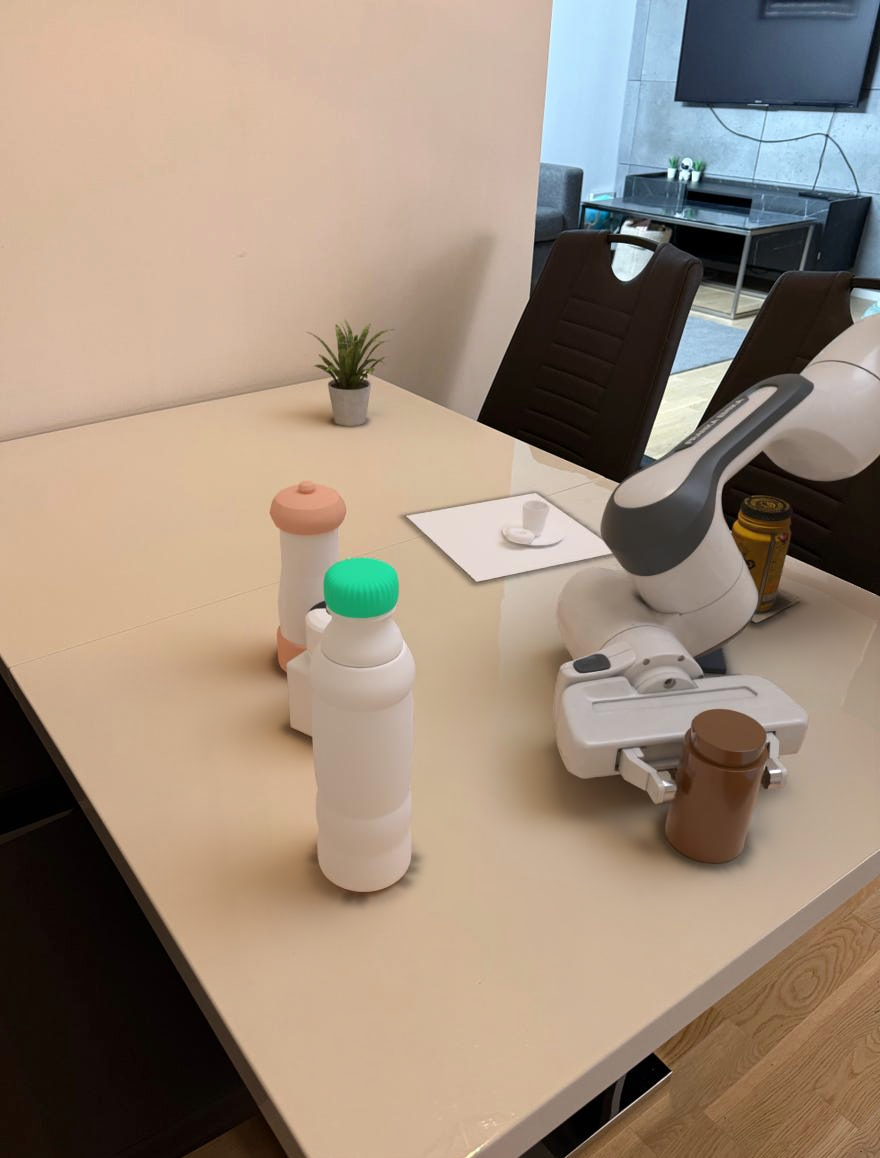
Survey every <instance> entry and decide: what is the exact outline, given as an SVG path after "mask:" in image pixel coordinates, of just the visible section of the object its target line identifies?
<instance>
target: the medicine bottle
mask: <svg viewBox="0 0 880 1158" xmlns="http://www.w3.org/2000/svg"><path fill="white" fill-rule="evenodd" d="M331 619H332V615H330V613H329V612H328V611H327V608H326V603H325V601H322V602H320V603H317V604H316V605H314V606H313V607H312V608H311V609H310V610H309V611H308V613H307V614H306V638H307V650H306V651H304V652H303V653H301V654H300V655H298V656H297V657H295V658H294V659H292V660H291V661H289V662H288V663H287V665H286V666H287V673H286V679H287V691H288V692H287V695H288V709H289V710H288V711H289V712H288V713H289V725H290V727H291V728H292V729H294V730H296V731H299V732H301V733H303V734H305V735H307V736H309V737H311V738H312V696H313V688H312V686H311V683H310V677H309V666H310V661H311V658H312V655H313V653H314V651H315V649H316V647H317V645H318V643H319V641H320V640H321V637H322V634H323V631H324V629H325V628H326V626H327V625H328V623H329V622H330V621H331Z"/></svg>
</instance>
